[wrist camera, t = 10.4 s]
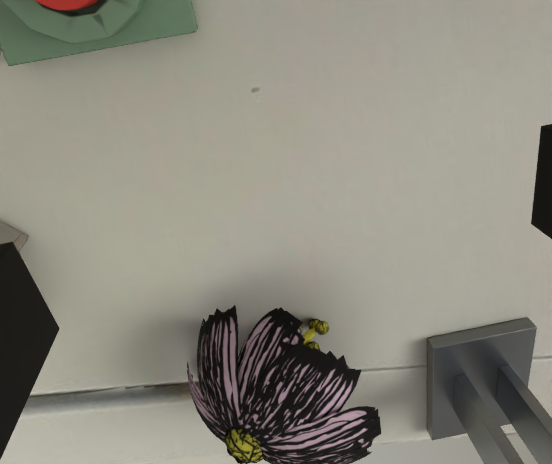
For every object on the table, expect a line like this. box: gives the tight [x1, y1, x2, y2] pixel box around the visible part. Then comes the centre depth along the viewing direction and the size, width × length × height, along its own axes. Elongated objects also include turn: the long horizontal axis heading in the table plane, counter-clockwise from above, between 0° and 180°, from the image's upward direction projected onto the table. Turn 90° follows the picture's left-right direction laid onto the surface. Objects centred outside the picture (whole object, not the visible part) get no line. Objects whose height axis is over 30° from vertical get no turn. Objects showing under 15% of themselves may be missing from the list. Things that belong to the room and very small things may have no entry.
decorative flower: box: [187, 305, 381, 464], centre depth 34 cm, size 14×12×15 cm
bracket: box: [427, 318, 552, 464], centre depth 36 cm, size 12×9×15 cm
